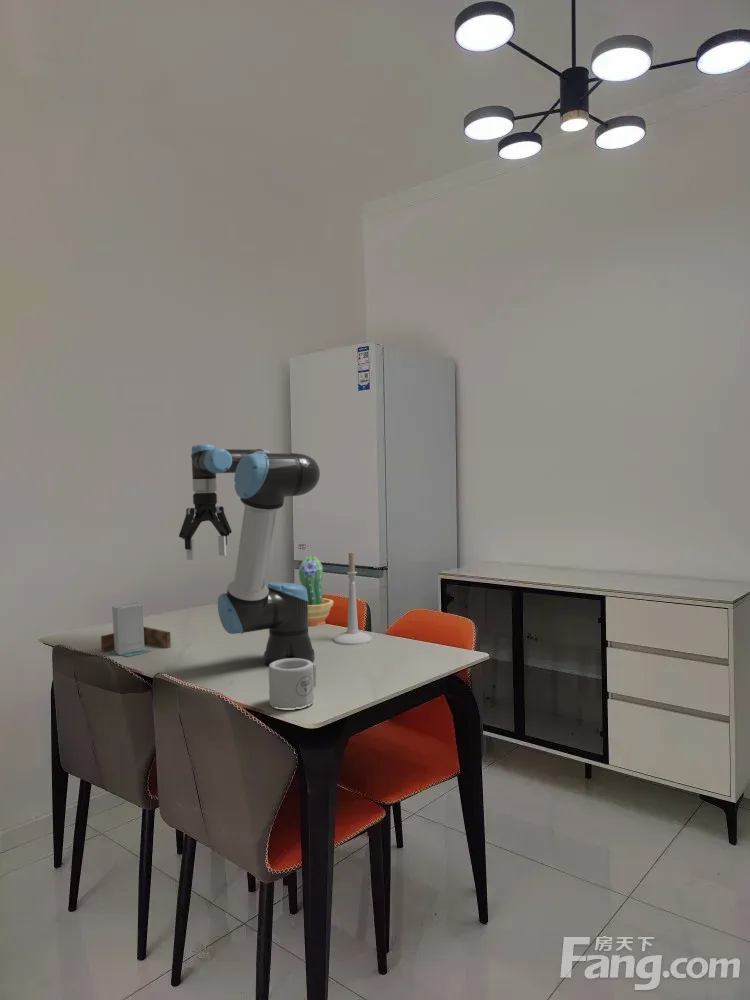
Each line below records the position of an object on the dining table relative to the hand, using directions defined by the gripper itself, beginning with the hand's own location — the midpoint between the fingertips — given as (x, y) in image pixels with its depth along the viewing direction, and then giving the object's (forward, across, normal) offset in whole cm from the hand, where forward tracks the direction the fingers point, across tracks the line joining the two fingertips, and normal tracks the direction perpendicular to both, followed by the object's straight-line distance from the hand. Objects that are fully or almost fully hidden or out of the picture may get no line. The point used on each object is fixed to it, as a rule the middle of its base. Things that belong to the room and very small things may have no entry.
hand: (207, 557), depth 226 cm
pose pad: (+29, +19, -16) cm, 38 cm away
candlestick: (+30, -31, +36) cm, 55 cm away
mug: (+31, +27, +60) cm, 73 cm away
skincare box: (+29, +19, -16) cm, 38 cm away
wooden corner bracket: (+29, +16, -17) cm, 37 cm away
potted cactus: (+29, -44, +7) cm, 53 cm away
